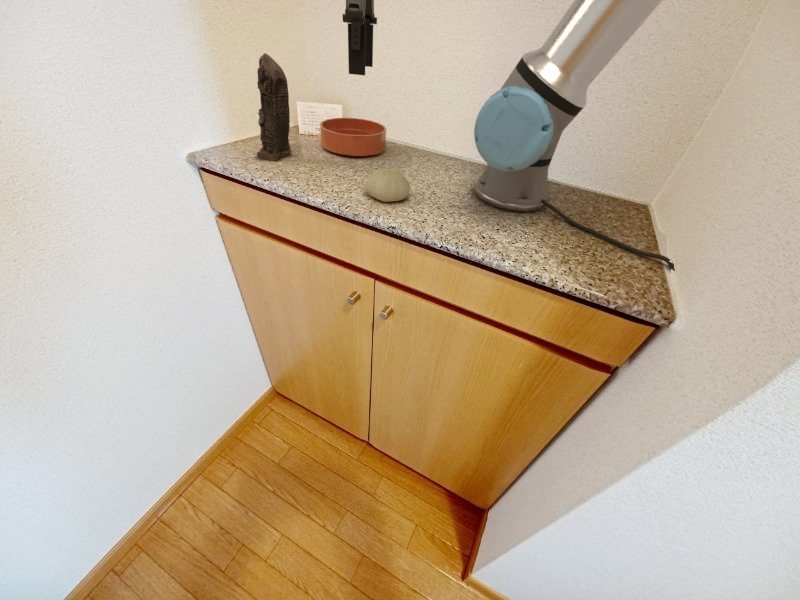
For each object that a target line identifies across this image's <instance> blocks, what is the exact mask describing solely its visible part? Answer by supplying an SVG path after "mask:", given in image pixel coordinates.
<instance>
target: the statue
mask: <svg viewBox="0 0 800 600" xmlns="http://www.w3.org/2000/svg"><path fill="white" fill-rule="evenodd" d="M257 89H258V90H259V95H260V106H261V107H260V108H259V109H258V112H257V114H258V117H259V118H258V126H259V128H260V135H259V139H260V141H261V145H262V147H261V148H260V150H259V151H256V157H257V158H258V159H263V160H267V161H273V162H277V161H279V160H280V159H281V158H286V157H289V156H290V155H291V154H292V149H291V146H290V140H289V135H290V122H291V119H290V117H291V115H290V97H289V86H288V79H287V77H286V74H285V71H284V70H283V68H282V67H281V66H280V65H279V64H278V62H277V61H276V60H275V59H273V58H272V56H270V55H269V54H268V53H266V52H264V53H263V54H262V55H260V57H259V59H258V68H257Z"/></svg>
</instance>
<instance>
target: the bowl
mask: <svg viewBox="0 0 800 600" xmlns="http://www.w3.org/2000/svg"><path fill="white" fill-rule="evenodd" d="M319 135H320V144H321V147H322V148H324V149H325V150H327V151H328V152H331V153H334V154H337V155H341V156H347V157H368V156H374V155H378V154H381V153H382V152H384V151H385V150H386V146H387V145H386V143H387V128H386V126H385V125H383V124H381V123H379V122H377V121H373V120H370V119H364V118H357V117H334V118H333V117H332V118H327V119H325V120H321V122H320V123H319Z"/></svg>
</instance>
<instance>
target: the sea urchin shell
mask: <svg viewBox="0 0 800 600" xmlns="http://www.w3.org/2000/svg"><path fill="white" fill-rule="evenodd" d="M364 187H365V191H366V193H367V194H368V195H369V196H371V197H372V198H374V199H376V200H378V201H381V202H384V203H388V202H389V203H390V202H391V203H392V202H400V201H402V200H405V199H406V198H407V197H408V196H409V195H410V190H411V185H410V182H409V181H408V179H407V177H406V176H405V175H404V174H403V173H402V172H400V171H399V170H397V169H393V168H387V167H386V168H385V167H384V168H380V169H377V170H375V171H374V172H372V173H371V174H370V175H368V177H367V178H366V180H365V183H364Z"/></svg>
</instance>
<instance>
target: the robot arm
mask: <svg viewBox="0 0 800 600" xmlns="http://www.w3.org/2000/svg"><path fill="white" fill-rule="evenodd" d="M663 1H664V0H573V1H572V3H571V4H570V6H568V9H567V10H566V12H565V13H564V14H563V16H562V17H561V19H560V20H559V22H558V23H557V24H556V25H555V28H554V29H553V30H552V32H551V34H549V36H548V37H547V39H546V40H545V42H544V43H543V45H542V46H540V47H539V48H538V49H535V50H531V51H528V52H525V53H524V54H523V55H522V56H521V57H520V60H519V61H518V62H517V64H516V65H515V66H514V68H513V70H512V71H511V73H510V74H509V76H508V77H507V79H506V80H505V82H504V83H503V85H502V86H501V87H500V89H499V90H497V91H495V93H493V94H491V95H490V97H489V98H487V99H486V101H485V102H484V103H483V105H482V106H481V108H480V110H479V112H478V114H477V116H476V119H475V123H474V129H473V136H474V141H475V142H474V143H475V148H476V150H477V152H478V154H479V156H480V157H481V158H482V160H483V161H484V162H485V163H486V166H485V167H484V169H483V171H482V172H481V174H480V176H479V177H478V179H477V182H476V184H475V188H474V193H475V195H476V196H477V197H478V198H479V199H480V200H481V201H483V202H485V203H487V204H488V205H490V206H492V207H496V208H499V209H502V210H506V211H511V212H525V213H528V212H534V211H539V210H540V209H542V208H543V207H544V206H545V207H546V208H548V209H550V210H551V211H552V212H554V213H555V214H556V215H558V216H559V217H560V218H561V219H563V220H564V221H566V222H567V223H569V224H571V225H573V226H574V227H576V228H578V229H580V230H583V231H584V232H587V233H589V234H591V235H594V236H596V237H599V238H601V239H603V240H605V241H607V242H608V243H611V244H614V245H615V246H618V247H620V248H622V249H625V250H627V251H629V252H632V253H634V254H637V255H639V256H644V257H648V258H654V259H658V260H661V261H662V262H665V263H666V264H667V265H668V266H669V268H670V269H671V270H673V271H674V272H676V271H675V269H674V264H675V263H674V262H673V263H674V264H673V263H671V262H669V261H670V260H671V258H669V257H667V256H665V255H662V254H658V253H654V252H649V251H644V250H641V249H637V248H635V247H633V246H631V245H629V244H626V243H623V242H621V241H620V240H617V239H615V238H612V237H610V236H609V235H606V234H603V233H602V232H599V231H597V230H595V229H593V228H590V227H588V226H585V225H583V224H581V223H579V222H577V221H575V220H574V219H571V218H570V217H568V216H567V215H566V214H565V213H563V212H561V211H560V210H559V209H557V208H556V207H555V206H553V205H552V204H551V203H550V202H548V201H546V199H547V195H548V178H549V168H550V164H551V162H552V160H553V157H554V155H555V152H556V149H557V147H558V145H559V142H560V140H561V137H562V134H563V132H564V130H565V129H566V128H567V127H568V126H569V125H570V124H571V123H572V122H573V121H574V119H575V118H576V117H577V116H578V115H579V113H581V111H582V110H583V109H584V108H585V107H586V105H587V97H588V89H589V86H590V85H591V84H592V83H593V82H594V81H595V79H596V78H597V77H598V76H599V75H600V74H601V73H602V71H603V70H604V69H605V68H606V67H607V66H608V64H610V63H611V61H612V60H613V58H615V56H617V54H618V53H619V52H620V50H621V49H622V48H623V47H624V46H625V45H626V44H627V42H628V41H629V40H630V39H631V38H632V37H633V36H634V35H635V33H637V31H638V30H639V29H640V27H641V26H642V25H643V24H644V23H645V22H646V20H648V18H649V17H650V16H651V14H652V13H654V11H655V10H656V9H657V8H658V7H659V5H660V4H661V3H662V2H663ZM375 15H376V13H375V0H345V9H344V13H342V23H347V52H348V55H347V56H348V75H356V76H366V67H369V68H373V67H374V66H373V63H374V62H373V61H374V25H377V24H378V17H376V16H375Z"/></svg>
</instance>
